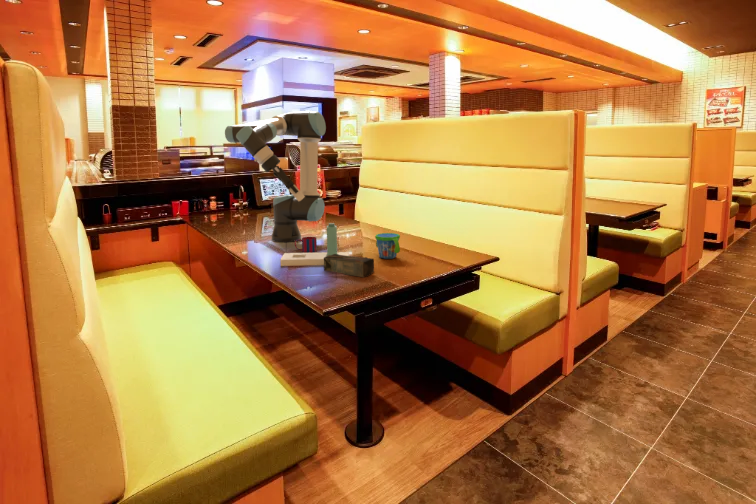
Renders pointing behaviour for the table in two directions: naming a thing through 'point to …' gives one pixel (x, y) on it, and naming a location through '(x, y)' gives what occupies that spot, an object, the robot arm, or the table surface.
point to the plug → (331, 239)
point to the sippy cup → (388, 245)
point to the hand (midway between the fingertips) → (301, 199)
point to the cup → (308, 244)
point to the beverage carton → (349, 265)
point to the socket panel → (305, 258)
